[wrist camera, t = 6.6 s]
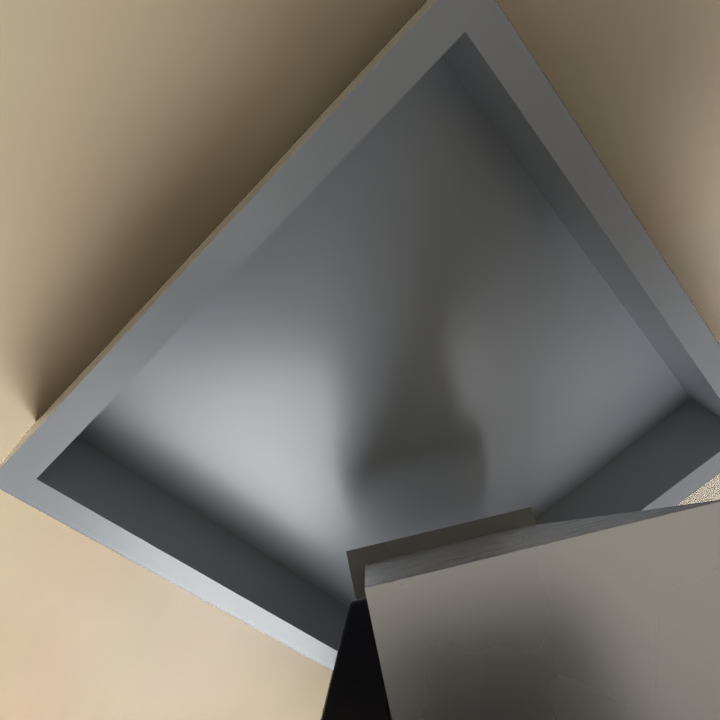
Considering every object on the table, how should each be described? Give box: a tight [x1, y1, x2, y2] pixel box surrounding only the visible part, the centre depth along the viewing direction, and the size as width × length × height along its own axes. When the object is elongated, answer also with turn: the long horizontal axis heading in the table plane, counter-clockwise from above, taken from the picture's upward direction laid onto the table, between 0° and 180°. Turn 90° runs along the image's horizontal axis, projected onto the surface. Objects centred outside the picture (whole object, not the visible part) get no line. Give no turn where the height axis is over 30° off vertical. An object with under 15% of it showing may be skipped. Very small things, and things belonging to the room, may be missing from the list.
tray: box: [0, 0, 720, 671], centre depth 14 cm, size 14×14×2 cm
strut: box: [346, 500, 720, 720], centre depth 9 cm, size 5×5×10 cm
